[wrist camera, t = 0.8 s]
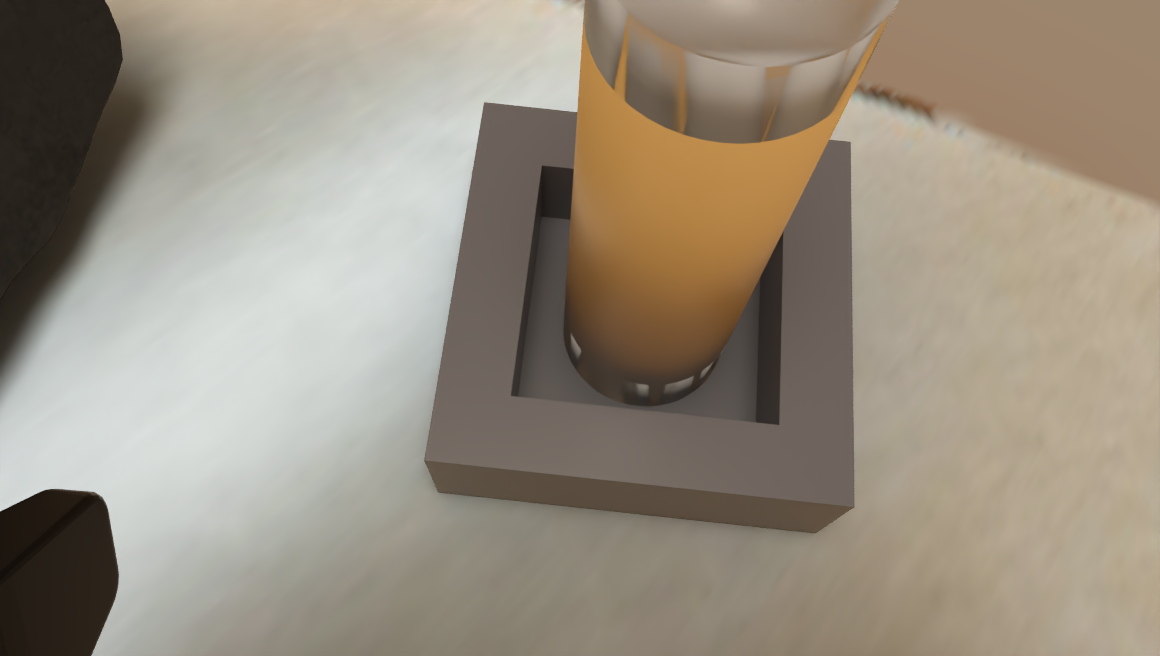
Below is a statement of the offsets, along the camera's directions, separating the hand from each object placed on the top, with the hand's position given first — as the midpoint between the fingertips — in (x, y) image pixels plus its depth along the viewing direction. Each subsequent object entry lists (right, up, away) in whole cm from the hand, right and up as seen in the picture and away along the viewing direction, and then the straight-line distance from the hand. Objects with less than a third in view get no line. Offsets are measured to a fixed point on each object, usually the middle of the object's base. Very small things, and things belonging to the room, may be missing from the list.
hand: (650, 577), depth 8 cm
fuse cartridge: (+1, +2, +16) cm, 16 cm away
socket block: (+1, +2, +16) cm, 17 cm away
